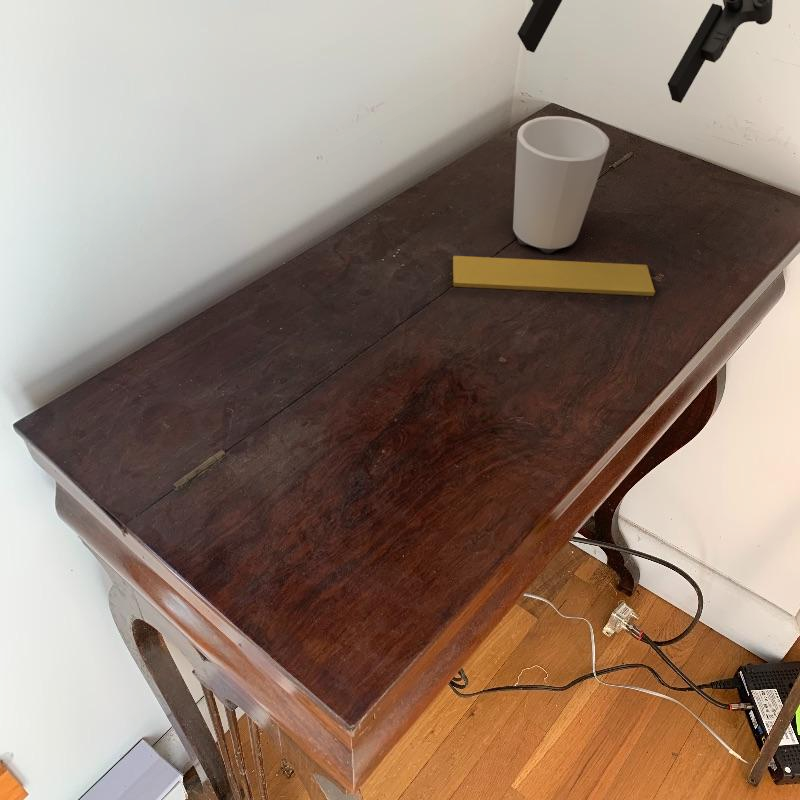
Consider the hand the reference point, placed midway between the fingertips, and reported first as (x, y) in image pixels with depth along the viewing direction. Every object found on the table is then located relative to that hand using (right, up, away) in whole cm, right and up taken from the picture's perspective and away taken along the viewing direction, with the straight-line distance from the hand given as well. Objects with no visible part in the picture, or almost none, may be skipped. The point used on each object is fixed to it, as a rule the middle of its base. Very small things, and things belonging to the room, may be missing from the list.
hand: (596, 67), depth 64 cm
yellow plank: (+1, -13, +25) cm, 29 cm away
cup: (+1, -7, +31) cm, 32 cm away
